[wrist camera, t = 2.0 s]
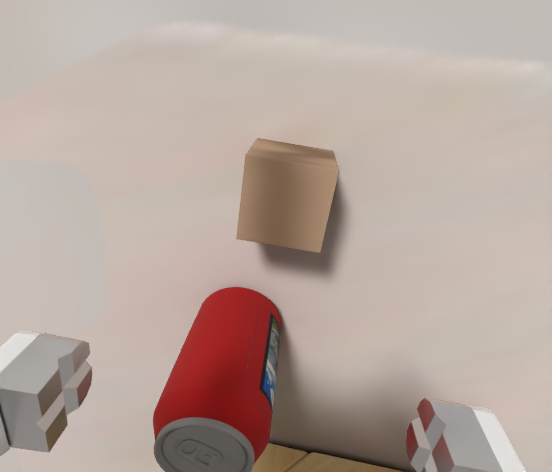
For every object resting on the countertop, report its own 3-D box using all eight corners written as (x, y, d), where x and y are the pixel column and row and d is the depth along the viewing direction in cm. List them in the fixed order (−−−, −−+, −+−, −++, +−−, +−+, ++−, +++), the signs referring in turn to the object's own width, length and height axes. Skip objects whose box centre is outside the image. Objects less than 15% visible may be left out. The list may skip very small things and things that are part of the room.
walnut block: (332, 150, 23) (339, 170, 19) (317, 220, 26) (320, 253, 21) (257, 138, 23) (245, 155, 19) (249, 208, 26) (236, 239, 21)
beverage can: (254, 359, 32) (226, 511, 21) (187, 321, 30) (120, 462, 20) (298, 309, 29) (292, 454, 18) (227, 266, 28) (175, 394, 17)
